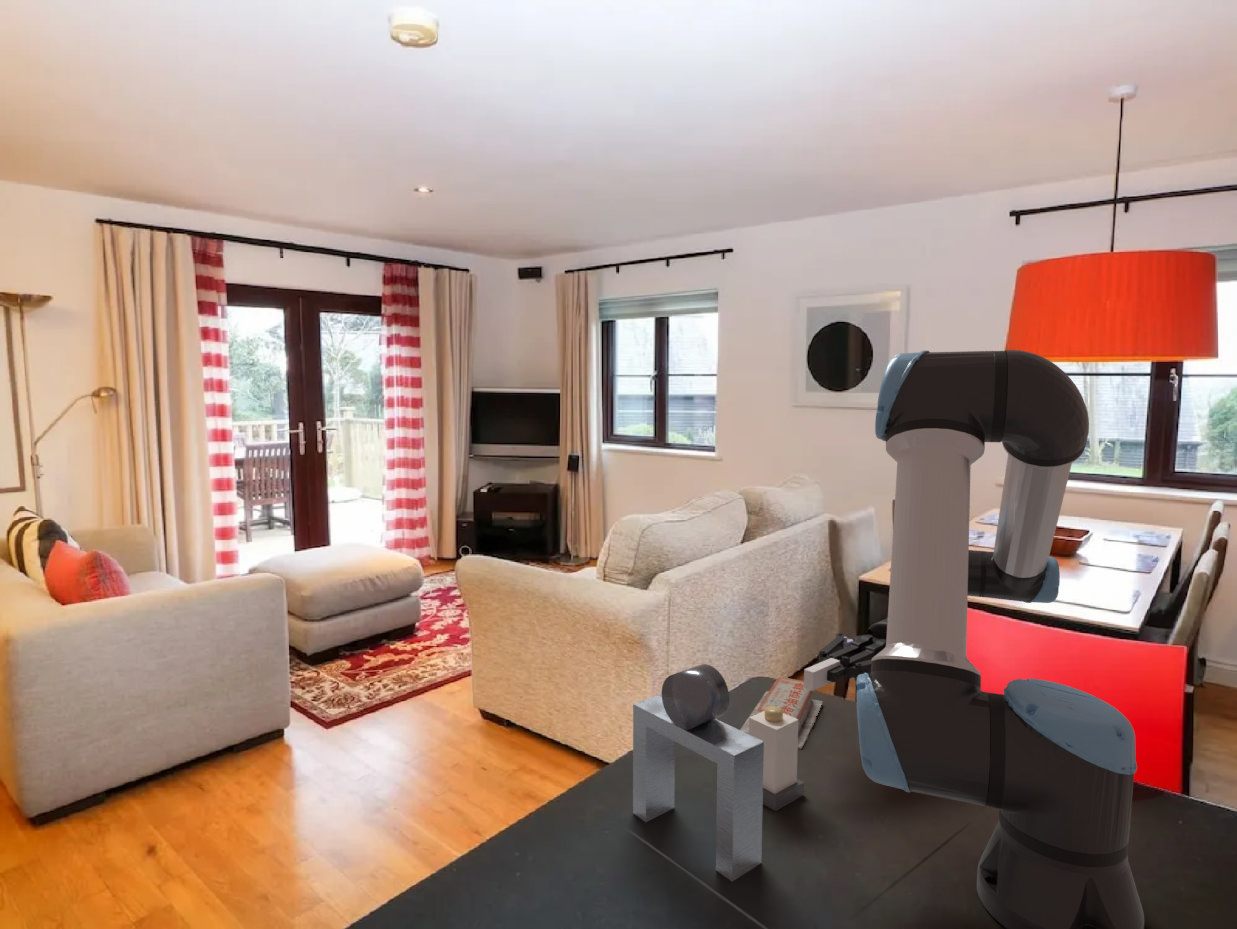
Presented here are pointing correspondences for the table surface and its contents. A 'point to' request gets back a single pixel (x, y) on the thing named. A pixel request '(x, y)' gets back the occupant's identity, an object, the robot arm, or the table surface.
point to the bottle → (778, 756)
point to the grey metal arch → (692, 724)
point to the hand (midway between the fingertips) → (808, 680)
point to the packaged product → (790, 705)
